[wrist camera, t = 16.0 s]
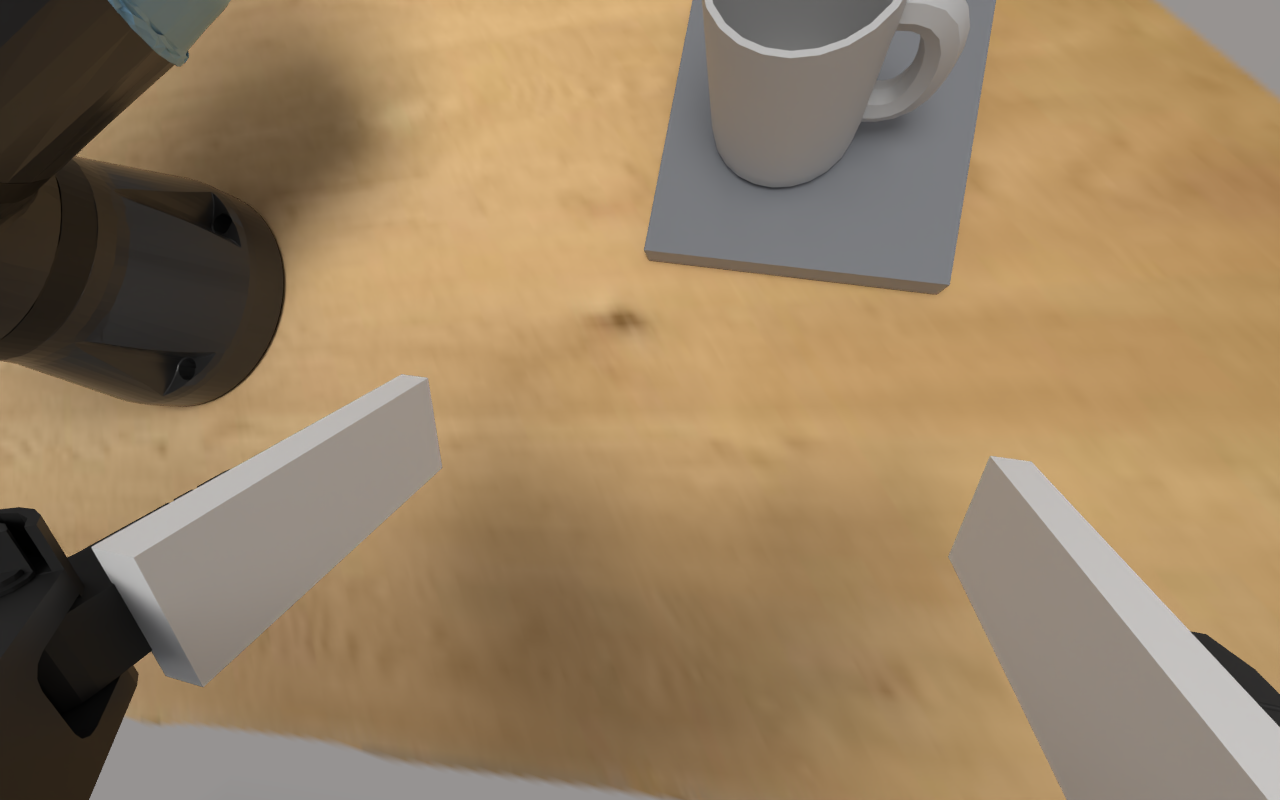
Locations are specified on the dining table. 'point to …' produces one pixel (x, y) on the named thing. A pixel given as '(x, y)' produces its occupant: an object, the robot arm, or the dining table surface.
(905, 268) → the slate tile
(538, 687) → the dining table surface
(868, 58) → the cup
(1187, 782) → the robot arm
